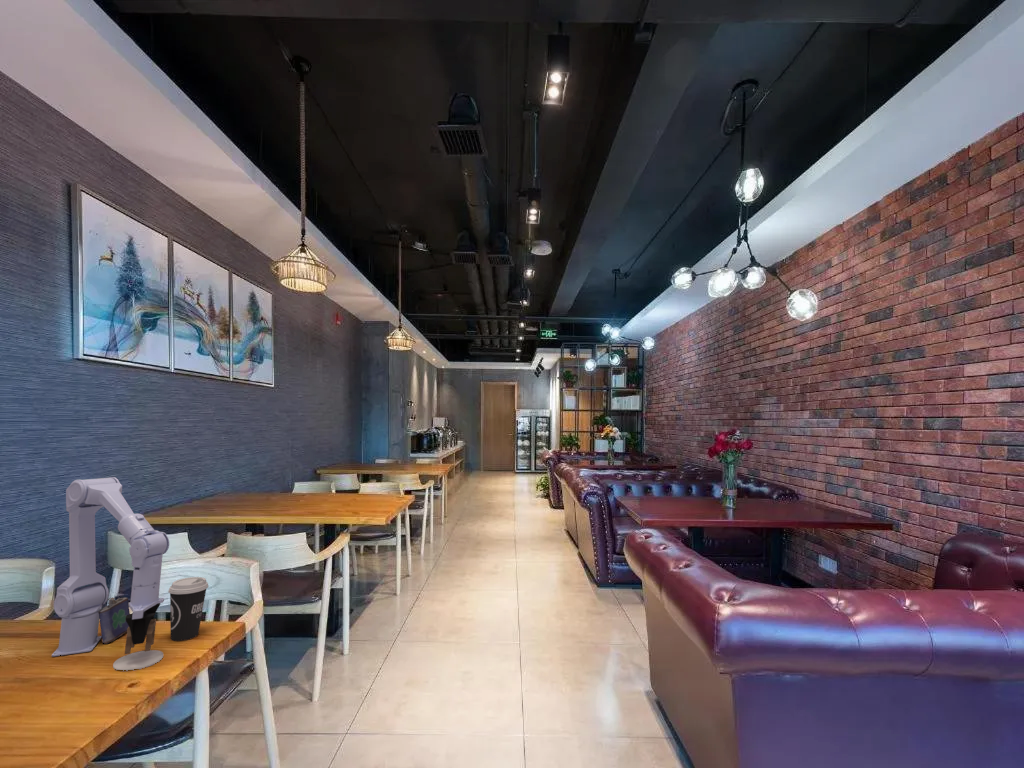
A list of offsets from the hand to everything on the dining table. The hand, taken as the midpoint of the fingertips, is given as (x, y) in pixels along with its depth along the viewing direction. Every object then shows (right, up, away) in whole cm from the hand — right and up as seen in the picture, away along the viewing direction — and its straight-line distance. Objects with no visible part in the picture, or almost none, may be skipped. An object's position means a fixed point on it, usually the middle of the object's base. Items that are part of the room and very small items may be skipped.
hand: (140, 639), depth 122 cm
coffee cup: (+1, -7, +15) cm, 16 cm away
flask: (-16, -6, +13) cm, 22 cm away
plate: (0, -5, -1) cm, 5 cm away
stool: (0, -2, 0) cm, 2 cm away
